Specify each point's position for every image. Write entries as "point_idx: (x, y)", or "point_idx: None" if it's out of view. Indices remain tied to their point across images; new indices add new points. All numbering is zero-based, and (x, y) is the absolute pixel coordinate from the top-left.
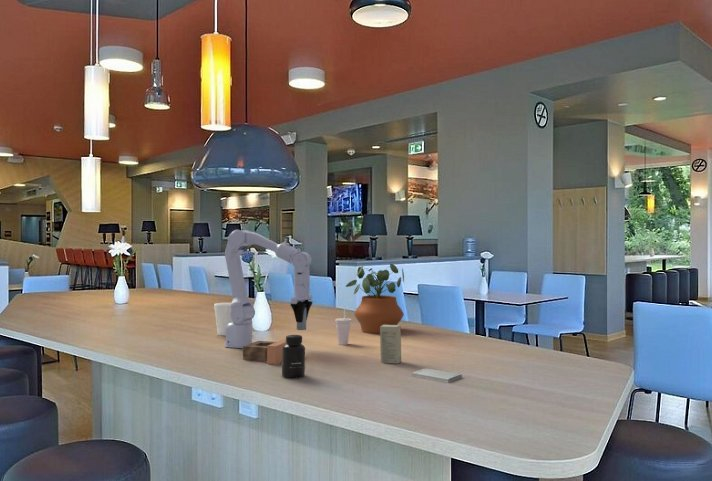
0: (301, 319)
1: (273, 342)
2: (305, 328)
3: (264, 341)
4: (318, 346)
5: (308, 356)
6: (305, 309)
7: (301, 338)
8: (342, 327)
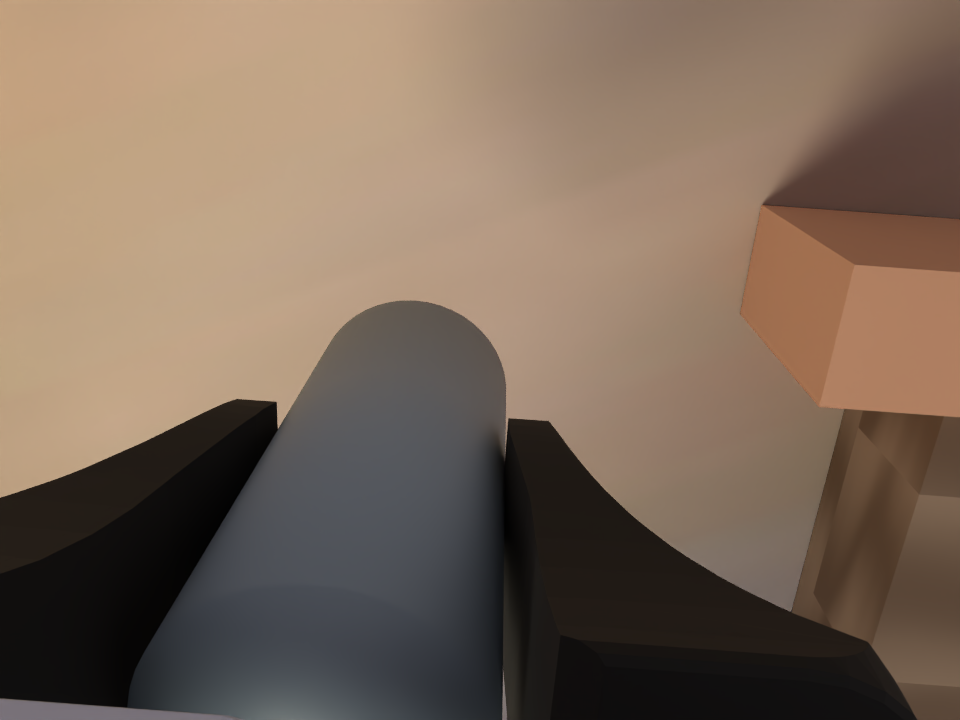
0: (570, 450)
1: (949, 562)
2: (426, 311)
3: None
4: (138, 126)
5: (886, 14)
6: (362, 554)
7: None
8: None
